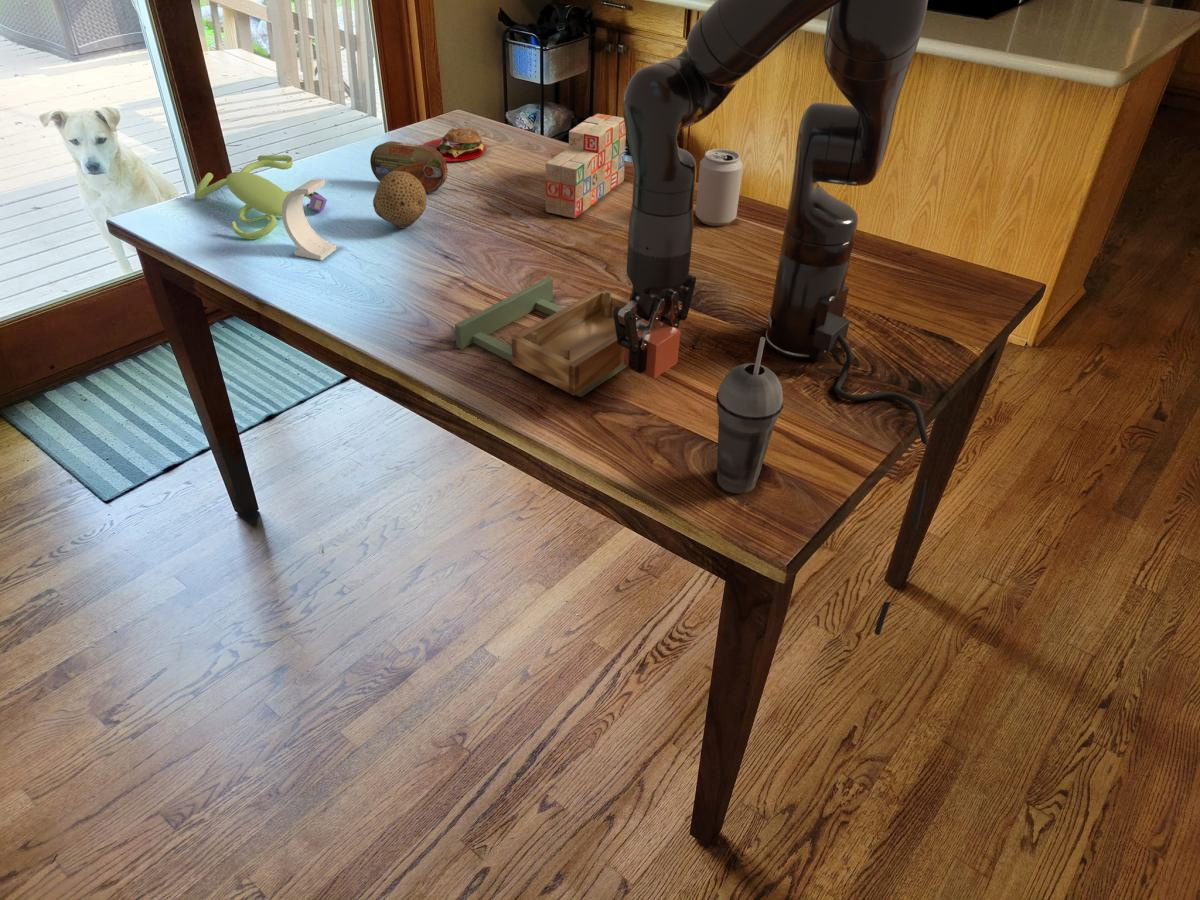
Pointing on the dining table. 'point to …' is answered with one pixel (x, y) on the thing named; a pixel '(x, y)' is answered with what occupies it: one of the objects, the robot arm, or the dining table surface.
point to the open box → (573, 343)
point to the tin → (410, 163)
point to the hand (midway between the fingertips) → (651, 360)
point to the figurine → (257, 193)
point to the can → (718, 187)
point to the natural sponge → (400, 199)
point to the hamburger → (459, 145)
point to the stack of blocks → (586, 166)
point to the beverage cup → (746, 423)
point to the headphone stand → (304, 224)
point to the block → (659, 349)
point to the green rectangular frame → (507, 312)
